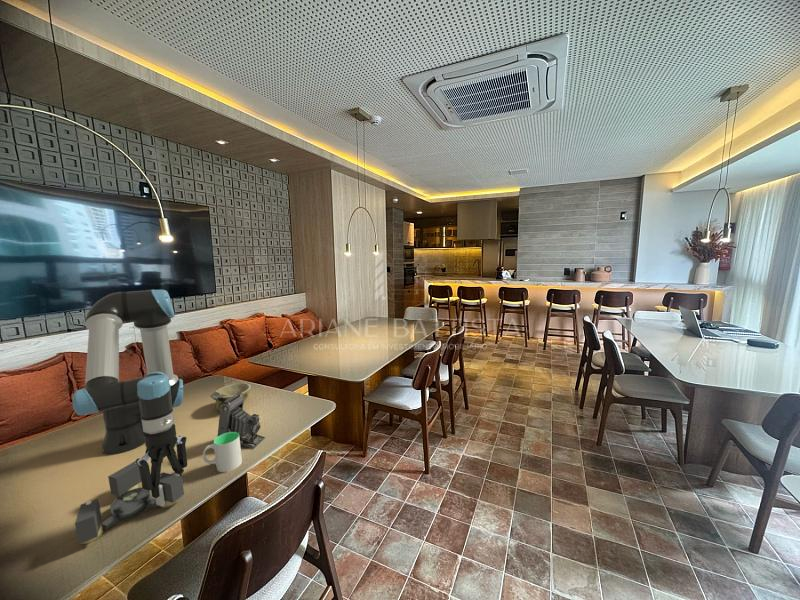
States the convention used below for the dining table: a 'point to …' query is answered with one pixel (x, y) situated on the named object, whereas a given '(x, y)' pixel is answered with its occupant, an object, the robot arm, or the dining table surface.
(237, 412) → the camera
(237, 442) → the mug
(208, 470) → the dining table surface
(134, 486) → the grey block with dot
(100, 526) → the knob
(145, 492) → the level base
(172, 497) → the knob
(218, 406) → the bowl
